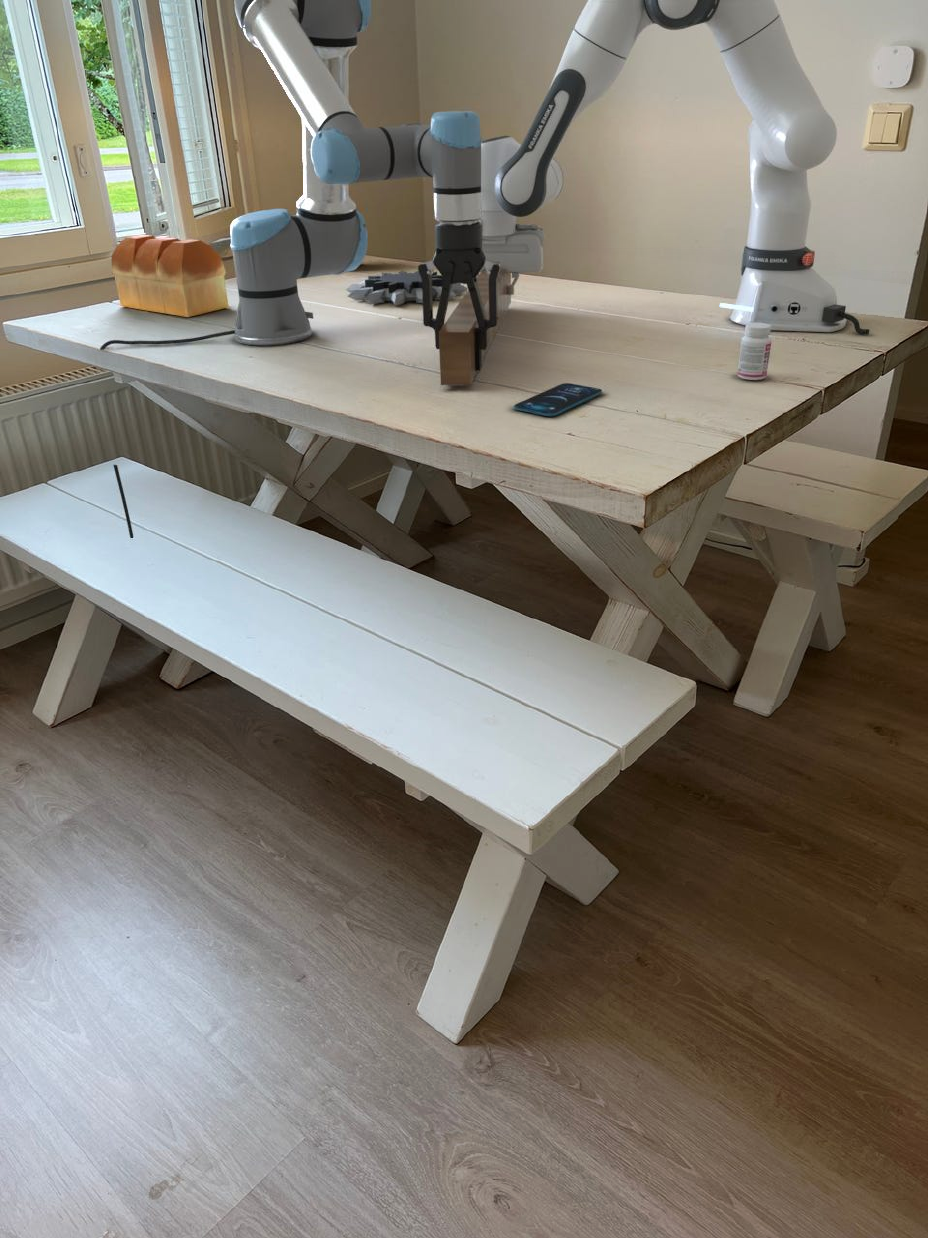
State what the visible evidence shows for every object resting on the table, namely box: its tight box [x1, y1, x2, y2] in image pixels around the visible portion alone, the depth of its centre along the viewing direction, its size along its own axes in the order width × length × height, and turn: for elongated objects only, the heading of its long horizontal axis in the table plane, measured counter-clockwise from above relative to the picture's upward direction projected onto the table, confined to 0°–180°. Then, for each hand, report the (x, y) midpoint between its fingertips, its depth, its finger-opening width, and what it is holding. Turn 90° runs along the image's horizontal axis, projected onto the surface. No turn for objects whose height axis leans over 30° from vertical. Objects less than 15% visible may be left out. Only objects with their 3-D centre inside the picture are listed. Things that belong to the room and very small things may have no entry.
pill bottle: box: [737, 323, 772, 381], centre depth 155 cm, size 5×5×8 cm
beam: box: [438, 269, 512, 386], centre depth 180 cm, size 64×5×9 cm, turn 172°
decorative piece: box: [345, 270, 468, 307], centre depth 224 cm, size 30×4×30 cm
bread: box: [111, 234, 230, 318], centre depth 216 cm, size 25×12×15 cm, turn 54°
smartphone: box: [513, 382, 603, 417], centre depth 148 cm, size 8×1×15 cm
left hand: (462, 367), depth 161 cm, fingers closed on beam, 5 cm apart
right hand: (495, 294), depth 201 cm, fingers closed on beam, 5 cm apart
